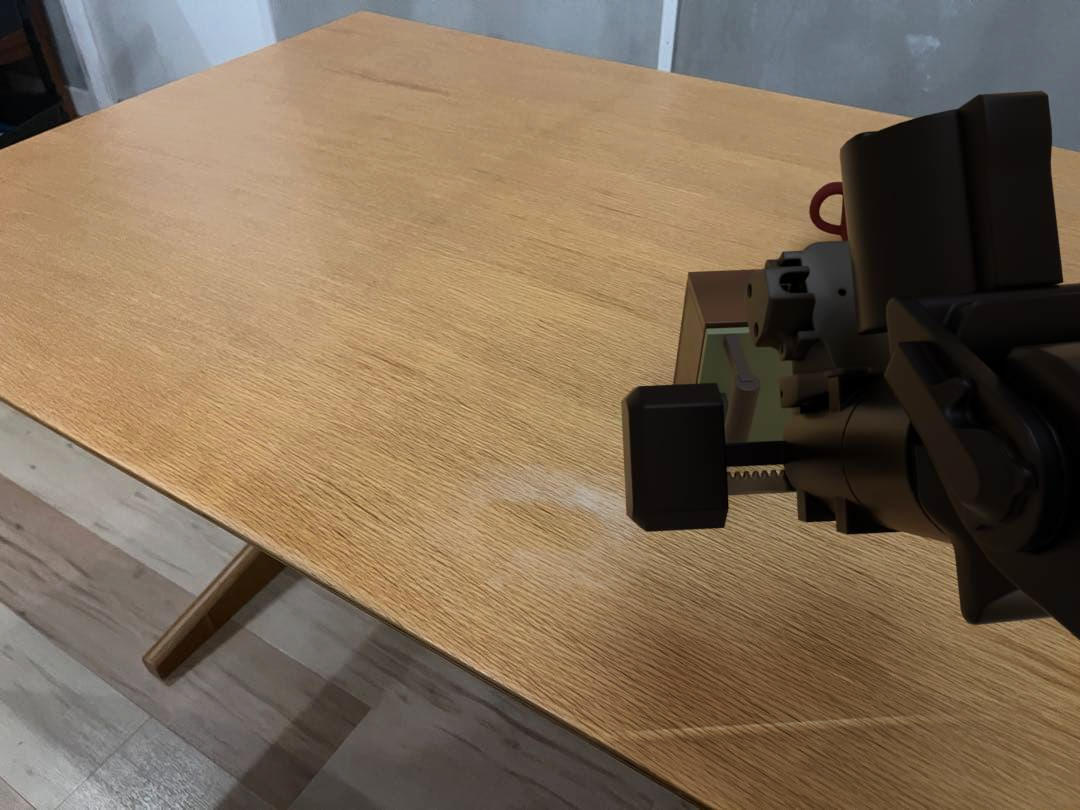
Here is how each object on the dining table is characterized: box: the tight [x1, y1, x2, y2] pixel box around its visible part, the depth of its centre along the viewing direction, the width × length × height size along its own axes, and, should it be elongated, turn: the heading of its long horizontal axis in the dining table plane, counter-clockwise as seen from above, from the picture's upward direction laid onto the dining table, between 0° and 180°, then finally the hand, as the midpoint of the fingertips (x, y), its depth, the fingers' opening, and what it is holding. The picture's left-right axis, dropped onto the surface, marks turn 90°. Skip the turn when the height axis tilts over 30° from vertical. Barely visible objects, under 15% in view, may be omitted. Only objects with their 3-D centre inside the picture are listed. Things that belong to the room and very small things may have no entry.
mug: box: [808, 181, 848, 241], centre depth 76 cm, size 10×8×10 cm
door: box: [697, 327, 792, 443], centre depth 54 cm, size 6×7×11 cm
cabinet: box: [672, 268, 760, 385], centre depth 59 cm, size 6×14×12 cm, turn 93°
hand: (777, 446), depth 44 cm, fingers open, 9 cm apart
